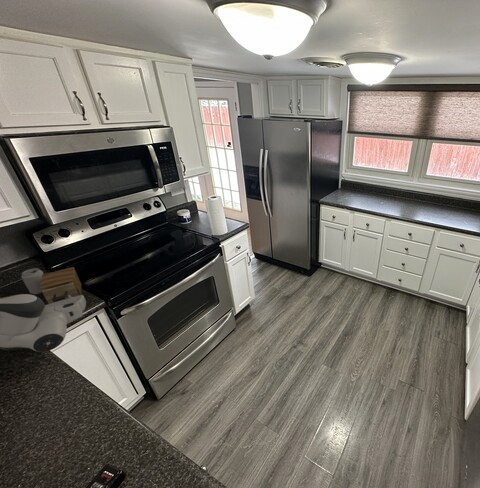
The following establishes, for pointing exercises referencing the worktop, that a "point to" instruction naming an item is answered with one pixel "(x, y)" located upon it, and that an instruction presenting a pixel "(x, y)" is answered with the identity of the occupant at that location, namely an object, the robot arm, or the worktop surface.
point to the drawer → (59, 292)
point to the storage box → (61, 279)
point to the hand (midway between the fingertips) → (53, 300)
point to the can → (32, 280)
